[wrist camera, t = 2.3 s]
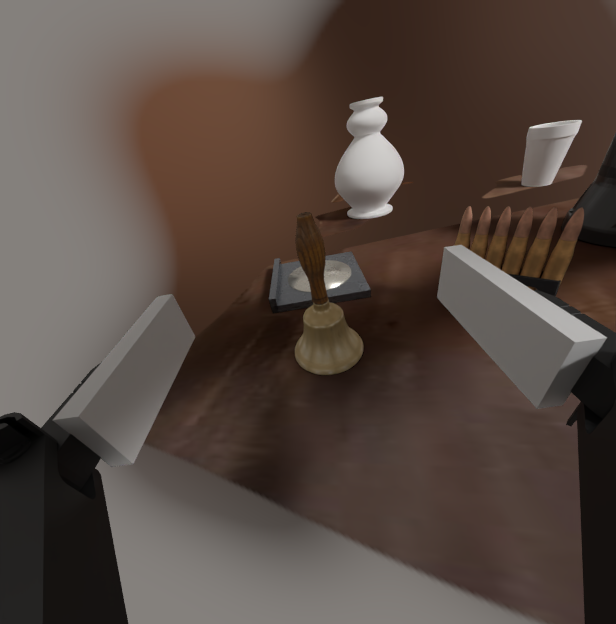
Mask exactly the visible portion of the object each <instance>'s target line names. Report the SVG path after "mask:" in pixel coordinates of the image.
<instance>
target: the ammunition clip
mask: <svg viewBox="0 0 616 624" xmlns="http://www.w3.org/2000/svg"><path fill="white" fill-rule="evenodd" d="M583 220H584V209H583V208H579V209H578V210H577V211H576V212H575V213H574V214H573V216H572V217H571V218H570V220H569V221H568V223H567V225H566V226H565V228H564V230H563V232H562V235H561V237H560V238H559V241H558V243H557V245H556V247H555V248H554V249H553V251H552V252H551V254H550V257H549V259H548V262H547V264H546V267H545V269H544V271H542V270H543V267H544V264H545V262H546V259H547V257H548V254H549V249H550V243H551V240H552V236H553V233H554V231H555V227H556V223H557V208H556V207H554V208H552V209H551V210H550V212H549V213H548V214H547V216H546V217H545V219H544V220H543V222H542V224H541V226H540V228H539V230H538V233H537V236H536V237H535V240H534V242H533V244H532V246H531V248H530V249H529V251H528V254H527V257H526V259H525V262H524V265H523V268H522V269H521V266H522V263H523V260H524V257H525V254H526V251H527V242H528V238H529V234H530V230H531V226H532V221H533V210H532V207H529V208H528V209H527V210H526V211H525V213H524V214H523V216H522V217H521V219H520V221H519V223H518V226H517V228H516V231H515V234H514V236H513V239H512V242H511V244H510V246H509V247H508V250H507V253H506V256H505V259H504V255H505V252H506V246H507V238H508V232H509V228H510V223H511V210H510V207H507V208H506V209H505V210H504V212H503V213H502V215H501V217H500V219H499V221H498V224H497V226H496V230H495V234H494V236H493V239H492V242H491V244H490V246H489V248H488V252H487V256H486V251H487V247H488V235H489V229H490V223H491V211H490V207H489V206H487V207H486V209H485V210H484V211H483V214H482V215H481V218H480V220H479V223H478V226H477V231H476V234H475V237H474V240H473V243H472V245H471V249H470V251H472V252H473V253H475V254H477V255H478V256H480V257H481V258H483V259H484V260H485V256H486V261H488V262H489V263H491V264H492V265H494V266H495V267H497V268H499V269H500V270H502V271H503V272H505V273H506V274H508V275H510V276H511V277H513V278H514V279H516V280H517V281H519V282H521V283H522V284H524V285H525V286H527V287H528V288H530V289H532V290H535V288H536V290H539V291H542V292H544V293H547V294H550V295H553V296H556V294H557V291H558V288H559V286H560V284H561V282H562V279H563V277H564V275H565V273H566V270H567V268H568V266H569V264H570V261H571V259H572V257H573V254H574V248H575V245H576V242H577V239H578V236H579V234H580V231H581V228H582V225H583ZM471 227H472V210H471V207H470V206H468V208H467V209H466V211H465V213H464V215H463V217H462V220H461V224H460V228H459V232H458V237H457V240H456V242H455V246H456V245H462V246H464V247H466V248H467V249H469V248H470V235H471ZM503 259H504V263H503V266H502V262H503Z"/></svg>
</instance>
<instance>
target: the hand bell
mask: <svg viewBox="0 0 616 624" xmlns="http://www.w3.org/2000/svg"><path fill="white" fill-rule="evenodd" d="M296 250H297V255H298V258H299V261H300V264H301V267H302V269H303V271H304V272H305V274H306V276H307V278H308V281H309V284H310V290H311V296H312V302H313V305H312V306H311V307H309V308H308V309H307V310H306V311H305V313H304V316H303V322H304V332H303V335H302V336H301V337H300V338H299V340H298V342H297V344H296V347H295V358H296V361H297V362H298V364H299V365H300V366H301V367H302V368H303V369H305V370H307V371H309V372H311V373H314V374H319V375H333V374H338V373H341V372H344V371H346V370H348V369H350V368H351V367H353V366H354V365H355V364H356V363H357V362H358V361H359V360H360V358H361V356H362V354H363V349H364V345H363V342H362V339H361V338H360V336H359V335H358V334H357V333H356V332H355V331H354V330H353V329H351V328H349V327H348V325H347V323H346V321H345V317H344V313H343V310H342V309H341V307H339V306H338V305H336V304H334V303H330V302H329V300H328V295H327V291H326V287H325V282H324V270H325V248H324V242H323V239H322V236H321V233H320V231H319V229H318V227H317V226H316V224H315V222H314V219H313V217H312V214H311V213H307V212H305V213H301V214H299V215H297V229H296Z"/></svg>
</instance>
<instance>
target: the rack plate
mask: <svg viewBox="0 0 616 624" xmlns="http://www.w3.org/2000/svg"><path fill="white" fill-rule="evenodd" d="M324 282H325V287H326V291H327V295H328V300H329V302H330V303H337V302H343V301H349V300H355V299H360V298H366V297H371V290H370V288H369V286H368V284H367V282H366V280H365V278H364V276H363V274H362V272H361V270H360V268H359V266H358V264H357V262H356V260H355V258H354V256H353V254H352V252H346V253H341V254H335V255H330V256H325V270H324ZM269 302H270V305H271V309H272V312H273V313H278V312H284V311H290V310H296V309H302V308H307V307H311V306H312V305H313V302H312V296H311V290H310V284H309V281H308V278H307V276H306V274H305V272H304V271H303V269H302V267H301V264H300V261H296V262H291V263H285V264H281V262H280V259H279V258H278V259H275V260H274V267H273V274H272V281H271V288H270V295H269Z"/></svg>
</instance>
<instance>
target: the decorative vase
mask: <svg viewBox="0 0 616 624" xmlns="http://www.w3.org/2000/svg"><path fill="white" fill-rule="evenodd" d="M382 101H383V97H378V98H372V99H367V100H363V101H359V102H355V103H352V104H350V109H353V110H354V113H353V114H352V116H351V117H350V118H349V120H348V122H347V129H348V131H349V132H350V133H351V134H352V135H353V136H354V140H353V141H352V142H351V144H350V145H349V147H348V148H347V150H346V152H345V153H344V155H343V156H342V158H341V160H340V163H339V165H338V167H337V170H336V173H335V186H336V189H337V191H338V193H339V194H340V195H341V196H342V198H343V199H344V200H345V201H346V202H347V203H348V204H349V205H350V206H351V207H352V209H350V210H349V211H348V212H347V215H348V217H350V218H355V219H368V218H375V217H380V216H383V215H386V214H388V213H390V212H391V211H392V206H391V205H389V204H387V202H388V201H389V200H390V198H391V197H392V196H393V194H394V193H395V191H396V190H397V189H398V187H399V185H400V184H401V182H402V179H403V176H404V167H403V162H402V160H401V157H400V156H399V154H398V153H397V151H396V150H395V148H394V147H393V146H392V145H391V144H390V143H389V142H388V141H387V140H386V139H385V138H384V137H383V136H382V135H381V134H380V130H382V128H383V127H384V125H385V124H386V122H387V115H386V113H385V112H384V111H383V110H382V109H381V108H379V104H380V103H381V102H382Z"/></svg>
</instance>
